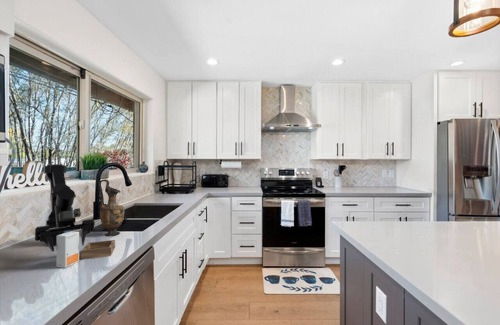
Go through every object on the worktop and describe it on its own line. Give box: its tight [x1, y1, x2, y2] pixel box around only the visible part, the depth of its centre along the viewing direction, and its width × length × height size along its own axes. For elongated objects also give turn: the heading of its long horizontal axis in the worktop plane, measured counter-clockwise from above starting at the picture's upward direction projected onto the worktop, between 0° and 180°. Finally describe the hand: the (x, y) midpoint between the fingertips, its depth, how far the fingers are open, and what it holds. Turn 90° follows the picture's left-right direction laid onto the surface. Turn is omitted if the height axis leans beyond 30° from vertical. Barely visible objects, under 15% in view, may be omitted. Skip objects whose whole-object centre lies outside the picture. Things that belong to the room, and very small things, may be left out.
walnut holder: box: [80, 239, 116, 261], centre depth 104 cm, size 11×11×4 cm
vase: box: [97, 179, 125, 237], centre depth 131 cm, size 12×12×30 cm
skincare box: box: [55, 230, 80, 269], centre depth 93 cm, size 6×4×12 cm
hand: (68, 247), depth 92 cm, fingers open, 9 cm apart
